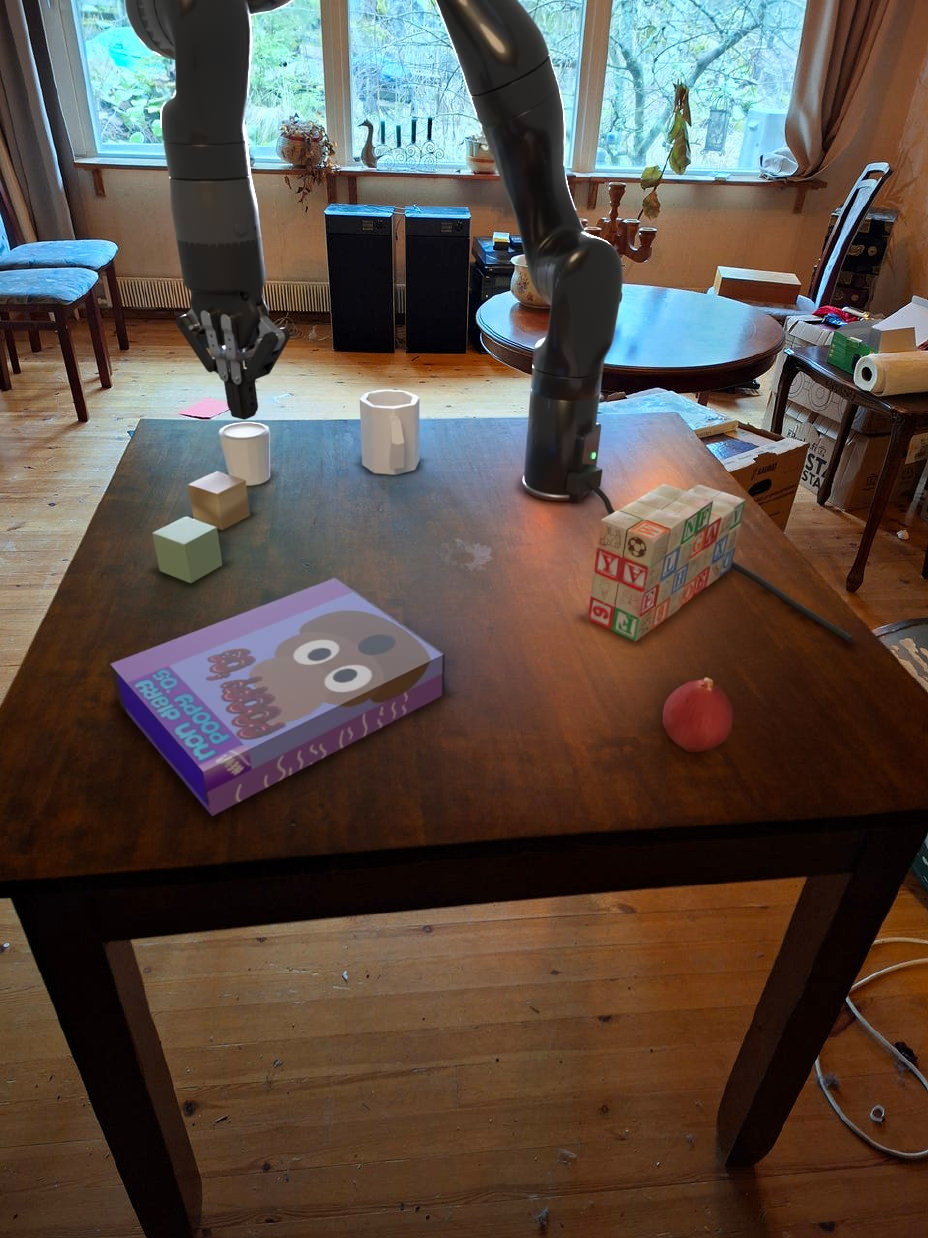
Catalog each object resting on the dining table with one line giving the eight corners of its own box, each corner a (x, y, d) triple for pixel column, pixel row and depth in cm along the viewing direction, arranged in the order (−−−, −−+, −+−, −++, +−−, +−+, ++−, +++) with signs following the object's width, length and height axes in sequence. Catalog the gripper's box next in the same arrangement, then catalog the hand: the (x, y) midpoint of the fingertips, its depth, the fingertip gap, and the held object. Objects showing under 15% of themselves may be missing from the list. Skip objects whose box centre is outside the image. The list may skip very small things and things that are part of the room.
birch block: (250, 515, 108) (245, 479, 105) (222, 530, 104) (217, 493, 102) (221, 505, 110) (216, 470, 107) (193, 520, 106) (187, 484, 104)
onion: (648, 728, 75) (663, 657, 71) (710, 726, 76) (728, 655, 71) (667, 773, 71) (683, 700, 66) (733, 771, 71) (753, 698, 67)
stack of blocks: (685, 551, 103) (704, 459, 97) (731, 569, 100) (754, 475, 93) (586, 619, 90) (600, 517, 83) (635, 643, 86) (654, 538, 80)
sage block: (222, 565, 97) (217, 527, 94) (190, 583, 94) (183, 544, 91) (191, 553, 99) (185, 516, 96) (159, 571, 96) (151, 532, 93)
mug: (358, 454, 126) (355, 390, 120) (414, 450, 128) (414, 387, 122) (370, 487, 116) (367, 419, 111) (430, 483, 118) (431, 416, 113)
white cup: (280, 469, 120) (275, 422, 117) (266, 489, 115) (261, 440, 111) (234, 466, 121) (228, 419, 117) (218, 485, 115) (211, 437, 111)
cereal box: (444, 653, 76) (200, 772, 62) (443, 694, 78) (209, 817, 65) (336, 577, 86) (107, 664, 73) (338, 615, 89) (118, 706, 76)
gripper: (302, 233, 76) (318, 417, 85) (194, 219, 81) (221, 394, 91) (246, 246, 70) (270, 441, 80) (134, 230, 75) (169, 415, 85)
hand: (244, 415), depth 85 cm, fingers closed
